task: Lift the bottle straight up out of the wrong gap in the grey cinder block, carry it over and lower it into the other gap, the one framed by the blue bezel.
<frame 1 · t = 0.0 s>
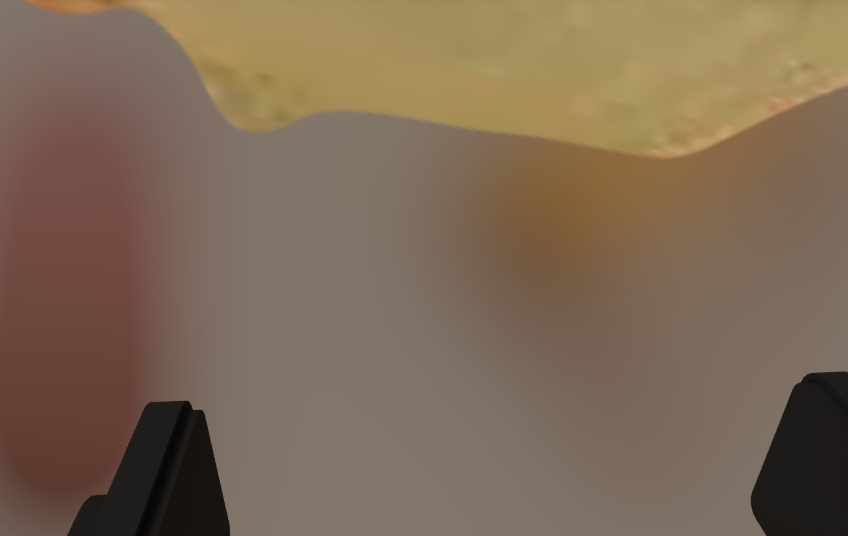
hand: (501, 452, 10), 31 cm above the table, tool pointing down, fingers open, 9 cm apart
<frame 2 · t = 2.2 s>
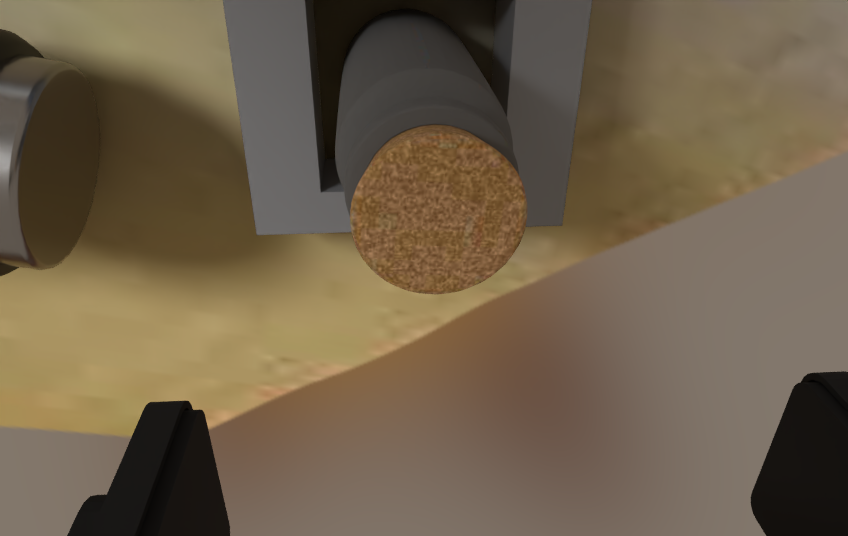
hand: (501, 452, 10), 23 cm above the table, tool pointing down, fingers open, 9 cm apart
bottle: (405, 73, 30), resting in grey cinder block
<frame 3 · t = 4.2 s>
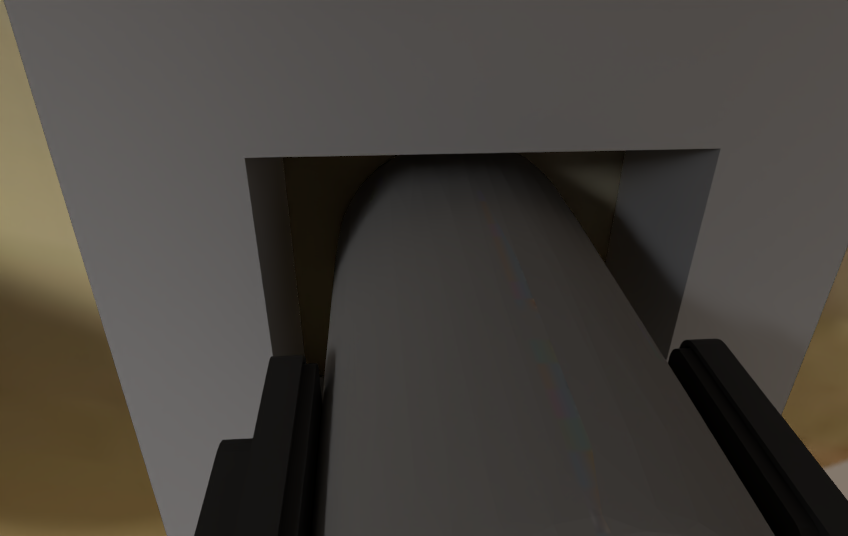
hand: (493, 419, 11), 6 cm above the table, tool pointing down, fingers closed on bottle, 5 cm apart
bottle: (452, 244, 16), resting in grey cinder block, touching gripper
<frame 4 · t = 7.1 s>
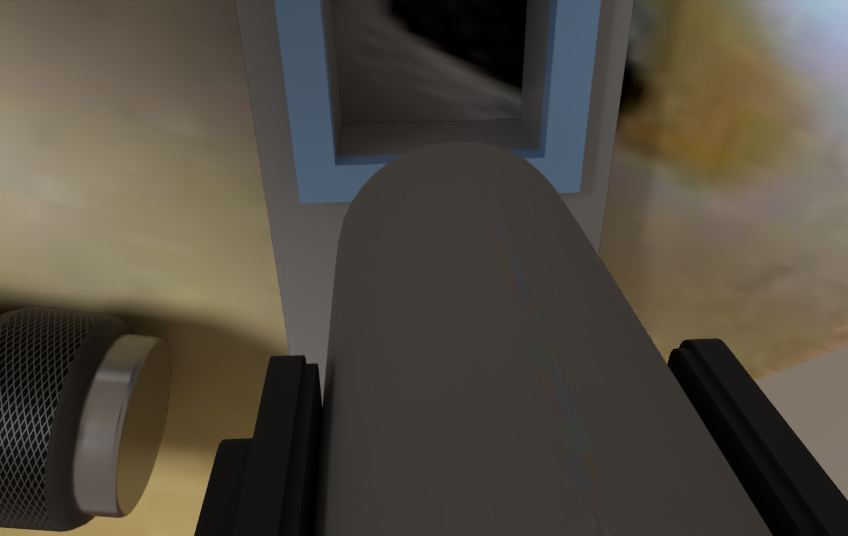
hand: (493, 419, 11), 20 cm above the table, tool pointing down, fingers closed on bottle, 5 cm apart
bottle: (452, 245, 16), point 14 cm above the table, touching gripper
grey cinder block: (432, 184, 30), on the table
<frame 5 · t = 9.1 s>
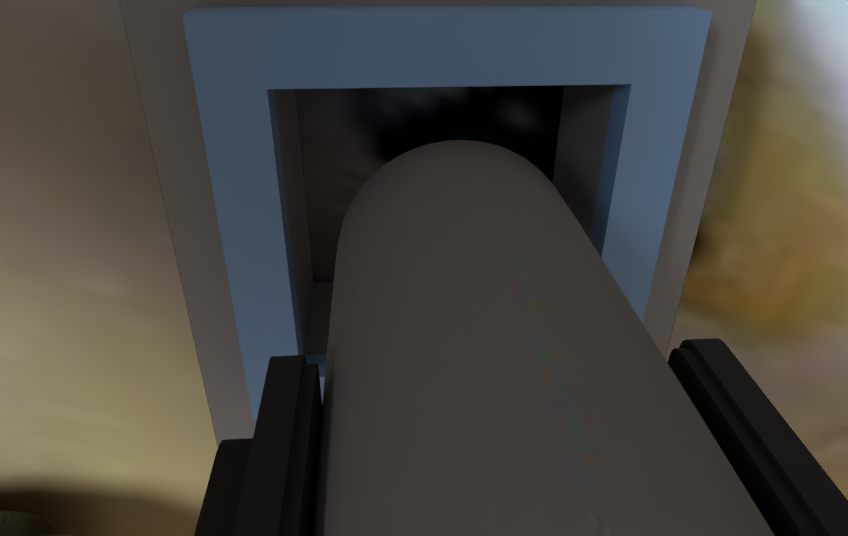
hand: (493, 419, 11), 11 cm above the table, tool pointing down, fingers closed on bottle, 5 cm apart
bottle: (453, 244, 16), point 5 cm above the table, touching gripper
grey cinder block: (427, 346, 24), on the table
when the fingers open (7 cm above the table, at t = 10.3 s): bottle drops 1 cm, resting in grey cinder block.
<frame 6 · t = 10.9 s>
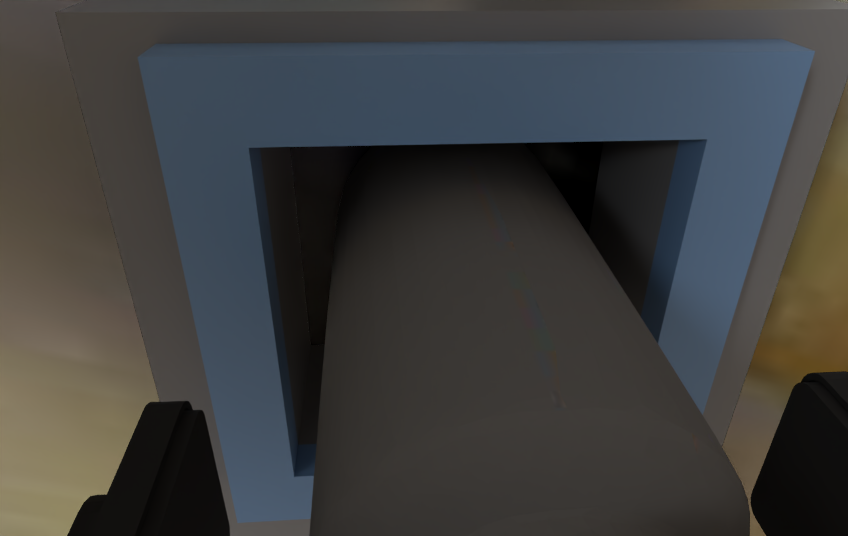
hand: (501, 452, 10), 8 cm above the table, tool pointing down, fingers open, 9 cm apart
bottle: (444, 215, 18), resting in grey cinder block
grey cinder block: (441, 413, 21), on the table
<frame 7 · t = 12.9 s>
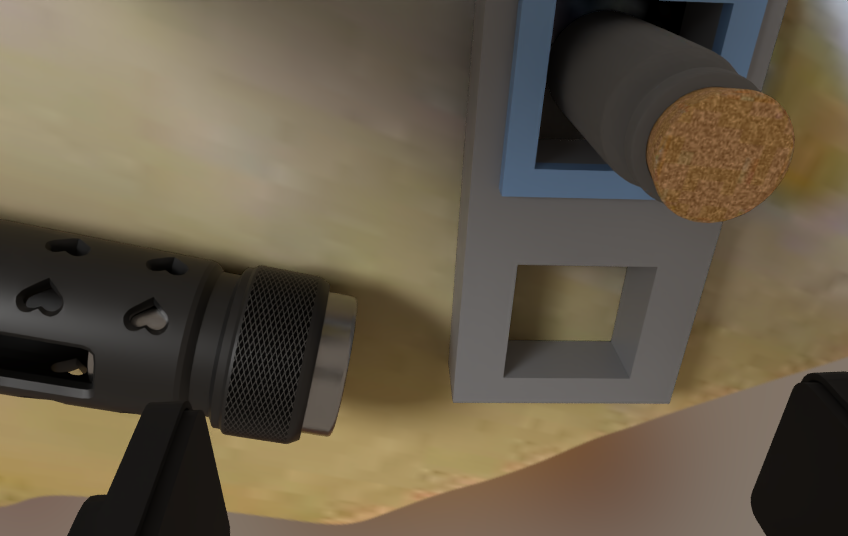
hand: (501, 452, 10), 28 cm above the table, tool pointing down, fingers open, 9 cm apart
muzzle brake: (128, 269, 40), on the table
bottle: (597, 65, 35), resting in grey cinder block
grey cinder block: (578, 189, 38), on the table
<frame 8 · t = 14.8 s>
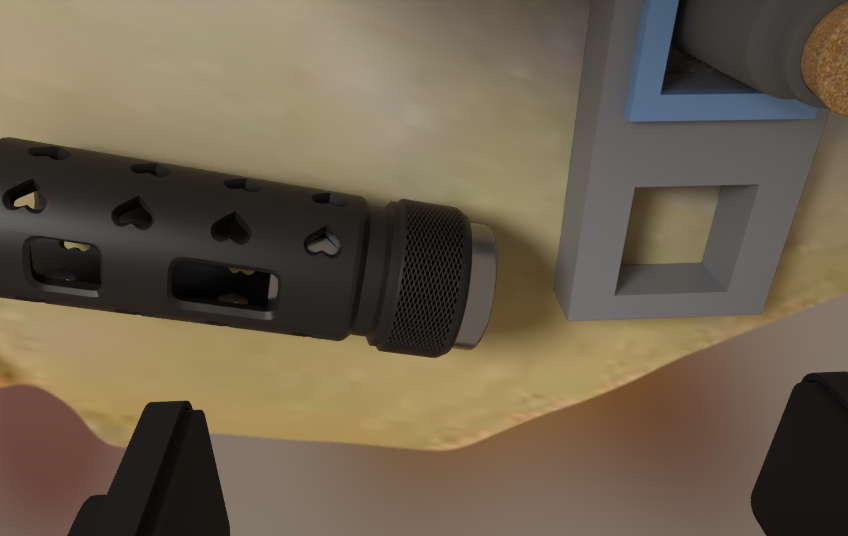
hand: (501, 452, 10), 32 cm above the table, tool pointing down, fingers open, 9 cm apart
muzzle brake: (267, 212, 43), on the table
bottle: (703, 1, 38), resting in grey cinder block
grey cinder block: (681, 118, 42), on the table
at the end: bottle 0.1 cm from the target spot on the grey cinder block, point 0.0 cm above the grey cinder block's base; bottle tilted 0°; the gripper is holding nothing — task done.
